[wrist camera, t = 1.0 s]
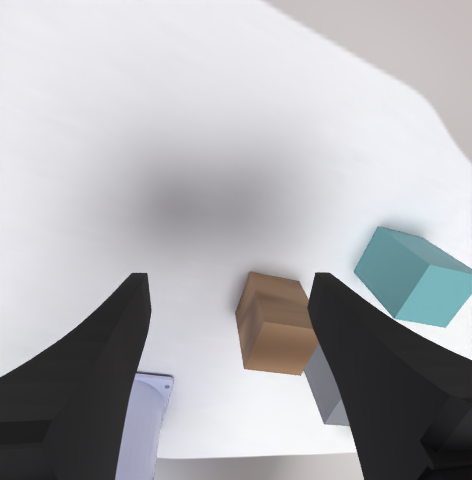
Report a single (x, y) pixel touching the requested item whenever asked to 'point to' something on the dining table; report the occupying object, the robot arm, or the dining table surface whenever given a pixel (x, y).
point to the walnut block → (275, 325)
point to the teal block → (414, 278)
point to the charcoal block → (325, 389)
